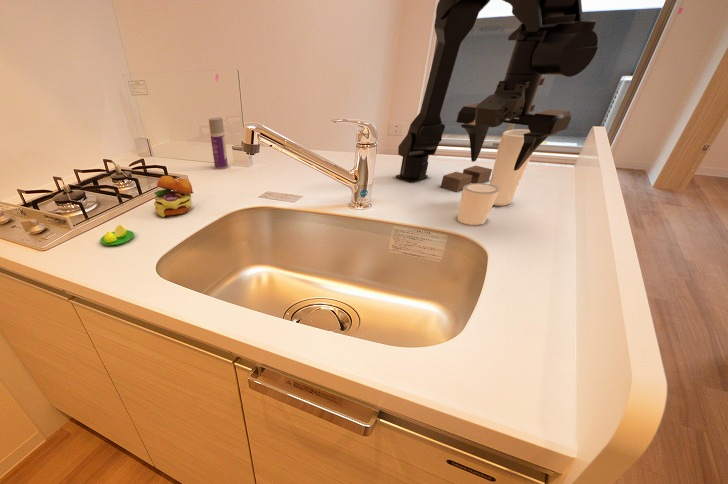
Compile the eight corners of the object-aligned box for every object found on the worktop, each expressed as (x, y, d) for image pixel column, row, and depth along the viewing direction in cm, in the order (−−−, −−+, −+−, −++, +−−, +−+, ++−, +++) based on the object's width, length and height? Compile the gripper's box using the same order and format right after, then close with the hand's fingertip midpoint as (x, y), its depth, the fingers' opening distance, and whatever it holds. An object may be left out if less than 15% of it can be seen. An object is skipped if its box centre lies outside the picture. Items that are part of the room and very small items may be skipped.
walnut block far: (460, 180, 101) (463, 169, 99) (472, 176, 103) (475, 165, 101) (476, 184, 98) (480, 173, 96) (488, 180, 100) (492, 169, 98)
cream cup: (490, 216, 82) (501, 184, 78) (486, 228, 78) (497, 195, 74) (457, 212, 85) (466, 181, 81) (451, 223, 81) (460, 191, 77)
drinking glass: (518, 207, 85) (545, 135, 75) (486, 207, 86) (508, 136, 76) (509, 197, 90) (533, 128, 80) (478, 198, 91) (498, 130, 82)
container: (213, 169, 128) (206, 120, 118) (216, 165, 131) (210, 117, 122) (226, 168, 127) (220, 119, 117) (229, 165, 130) (223, 116, 121)
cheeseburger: (146, 214, 99) (143, 174, 94) (176, 210, 106) (174, 173, 102) (171, 220, 94) (169, 178, 89) (200, 216, 101) (200, 177, 96)
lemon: (118, 230, 92) (115, 219, 90) (141, 235, 88) (138, 224, 87) (94, 243, 87) (89, 232, 85) (117, 249, 83) (113, 237, 82)
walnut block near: (440, 187, 99) (443, 175, 97) (453, 182, 100) (456, 171, 98) (456, 191, 95) (459, 179, 93) (469, 187, 97) (472, 175, 95)
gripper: (449, 76, 69) (429, 164, 79) (553, 80, 56) (514, 185, 66) (486, 69, 73) (463, 154, 83) (592, 71, 60) (550, 171, 70)
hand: (493, 165), depth 75 cm, fingers open, 9 cm apart
